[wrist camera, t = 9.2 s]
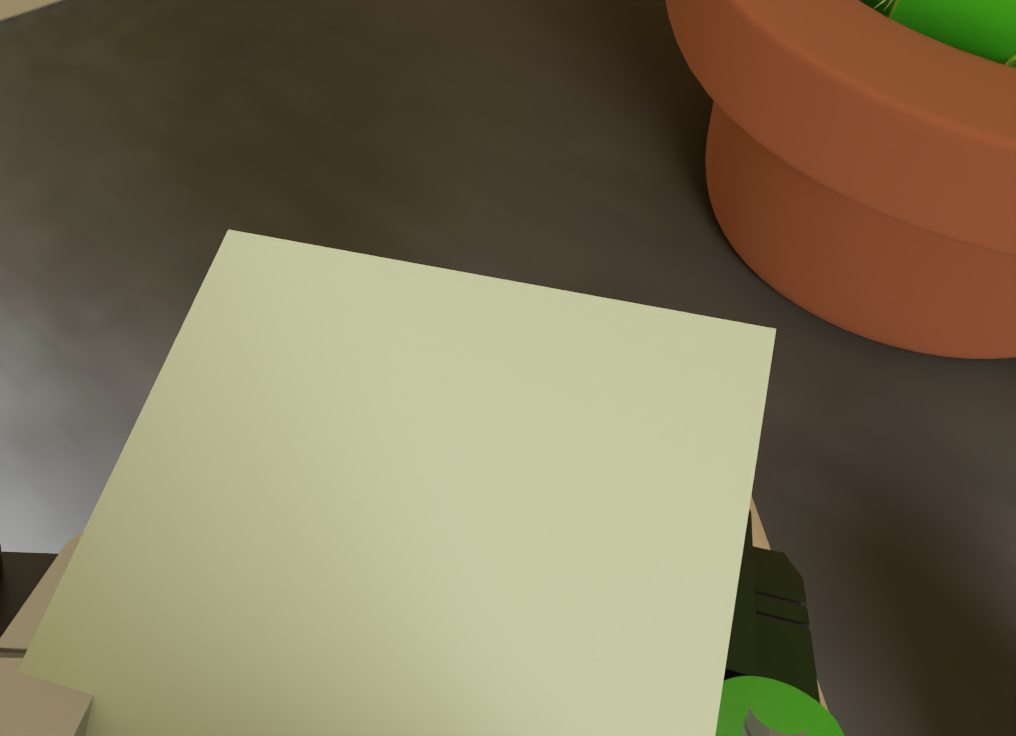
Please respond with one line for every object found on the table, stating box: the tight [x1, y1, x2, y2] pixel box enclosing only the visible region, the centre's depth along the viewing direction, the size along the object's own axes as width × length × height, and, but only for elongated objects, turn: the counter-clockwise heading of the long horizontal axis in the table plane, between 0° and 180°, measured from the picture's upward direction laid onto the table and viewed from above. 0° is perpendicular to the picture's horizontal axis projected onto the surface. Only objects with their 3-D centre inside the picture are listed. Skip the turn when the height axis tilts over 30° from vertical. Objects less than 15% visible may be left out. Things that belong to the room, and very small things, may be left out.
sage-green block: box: [17, 229, 776, 736], centre depth 11 cm, size 5×5×10 cm
